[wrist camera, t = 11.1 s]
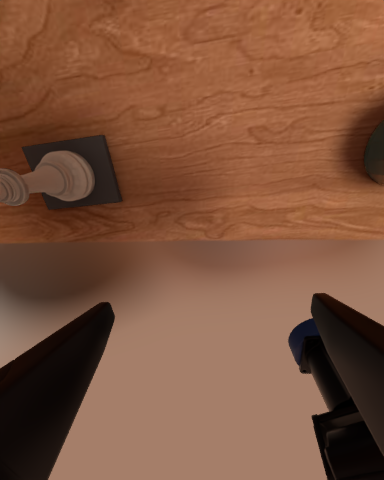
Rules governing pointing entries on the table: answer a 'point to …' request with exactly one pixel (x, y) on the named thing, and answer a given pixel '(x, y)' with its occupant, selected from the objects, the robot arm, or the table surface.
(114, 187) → the mat
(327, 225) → the table surface
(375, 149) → the cup
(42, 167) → the chess piece
